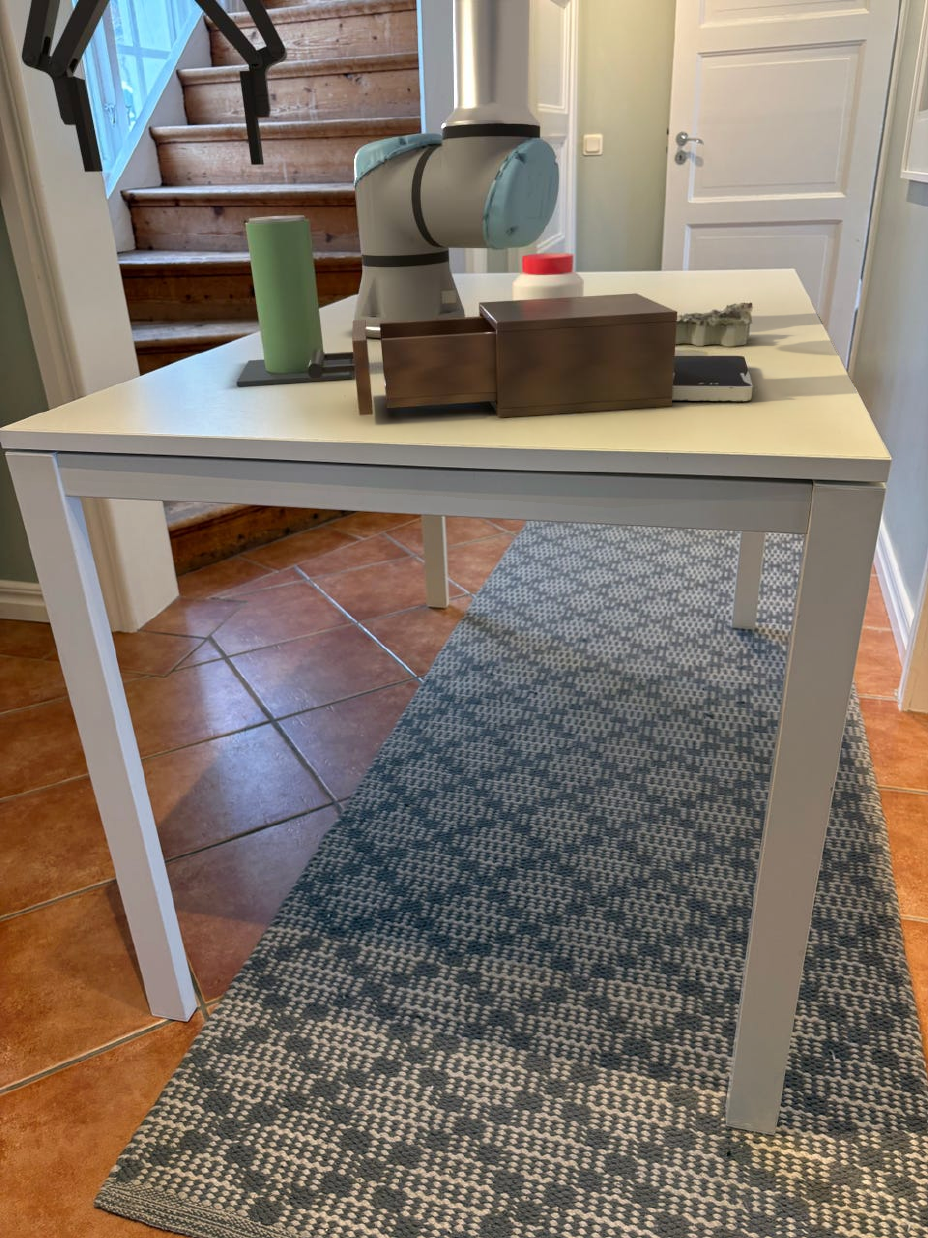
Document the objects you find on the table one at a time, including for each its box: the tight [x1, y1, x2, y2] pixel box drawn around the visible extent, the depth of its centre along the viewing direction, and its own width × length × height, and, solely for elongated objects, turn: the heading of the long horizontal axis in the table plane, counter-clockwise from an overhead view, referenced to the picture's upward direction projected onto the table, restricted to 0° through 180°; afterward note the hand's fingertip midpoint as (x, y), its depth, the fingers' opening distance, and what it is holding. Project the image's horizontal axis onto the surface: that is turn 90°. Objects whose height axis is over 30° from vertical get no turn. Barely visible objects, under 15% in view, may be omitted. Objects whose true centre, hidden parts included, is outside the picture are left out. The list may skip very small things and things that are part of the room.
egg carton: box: [675, 302, 754, 348], centre depth 106 cm, size 11×8×4 cm
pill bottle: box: [511, 252, 585, 301], centre depth 98 cm, size 8×8×11 cm
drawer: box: [307, 315, 497, 416], centre depth 82 cm, size 19×11×6 cm, turn 96°
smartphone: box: [672, 355, 754, 402], centre depth 87 cm, size 8×1×15 cm
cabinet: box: [478, 293, 678, 419], centre depth 83 cm, size 16×13×8 cm
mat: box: [235, 359, 352, 387], centre depth 101 cm, size 12×12×1 cm
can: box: [245, 214, 325, 373], centre depth 97 cm, size 7×7×15 cm
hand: (176, 168), depth 73 cm, fingers open, 12 cm apart
